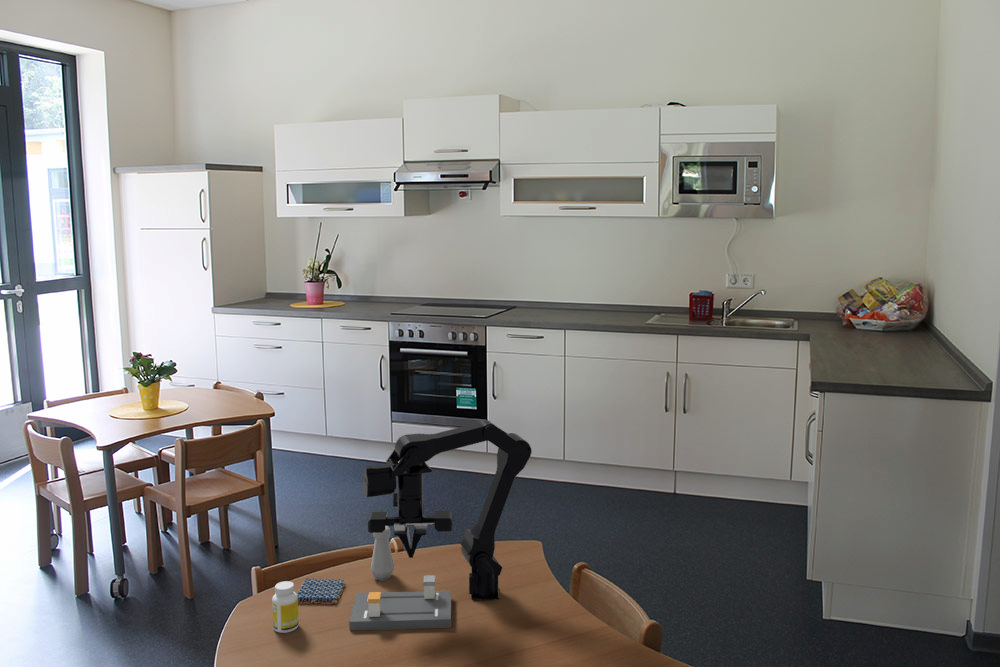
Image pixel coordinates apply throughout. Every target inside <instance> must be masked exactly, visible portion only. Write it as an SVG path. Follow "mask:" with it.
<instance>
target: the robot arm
mask: <svg viewBox="0 0 1000 667" xmlns="http://www.w3.org/2000/svg"><path fill="white" fill-rule="evenodd" d="M487 441H488V442H489V443H491V444H492V445H494V446H495V447H496V448H497V454H496V465H497V466H496V471H495V473H494V476H493V478H492V482H491V485H490V487H489V491H488V493H487V495H486V499H485V500H484V504H483V507H482V509H481V512H480V514H479V517H478V520H477V523H476V525H475V526H474V527H473V528H472V529H469V528H465V530H464V534H463V537H462V540H461V541H460V542H459V545H460V546H461V548H460V550H461V554H462V556H463V557H464V559H465V560H466V561H467V563H468V564H469V566H470V568H471V572H469V573H468V594H469V595H471V596H470V597H471V598H470V599H471V600H472V601H489V600H490V601H491V600H493V601H494V600H500V594H499V576H500V575H501V573H502V571H503V566H502V565H501V564H500V563H499V561H498V560H497V558H496V557H495V556H494V554H495V548H496V536H495V535H496V531H497V528H498V525H499V523H500V519H501V518H502V514H503V511H504V508H505V506H506V503H507V501H508V498H509V495H510V493H511V490H512V487H513V485H514V482H515V480H516V477H517V476H518V475H519V474H520V473H521V472H522V471H523V470H524V469H525V467H526V465H527V463H528V462H529V460H530V458H531V455H532V448H531V445H530V443H528V441H527V440H525V439H524V438H523V437H521V436H520V435H519V434H517V433H513V432H511V433H507V432H506V431H504V430H503V429H501V428H500V427H498V426H496V425H495V424H494V423H492V422H491V421H490V420H487V419H483V420H481V421H479V422H476V423H472V424H468V425H467V424H466V425H464V426H461V427H457V428H451V429H447V430H444V431H440V432H437V433H430V434H429V433H410V434H403V435H402V436H399V437H398V439H397V440H396V442H395V445H394V450H393V451H392V452H391V454H390V455H389V456H388V458H387V459H386V461H385V463H386V464H382V465H381V464H380V465H365V466H364V472H363V477H362V488H363V495H364V497H365V499H366V498H368V499H369V498H375V497H383V496H391V495H392V494H393V495H392V496H393V497H392V507H394V508H397V516H388V511H372V512H371V513H370V514H369V517H368V520H367V532H368V533H370V534H373V533H382V532H383V531H384V530H385V529H386V526H388V527H393V528H394V530H393V536H397V537H398V538H399V539H400V541H401V543H402V544H403V547H404V549H405V551H406V554H407V555H408V557H409V559H411V558H412V559H413V558H414V555H415V552H416V549H417V546H418V544H419V542H420V541H421V538H422V536H426V535H427V532H428V526H434V530H436V531H437V532H438V533H439V532H452V530H453V513H452V511H450V510H435V511H434V515H433V516H432V515H431V516H430V515H429V516H427V515H424V514H425V501H424V474H426V473H427V474H428V473H429V474H430V473H432V472H433V469H432V468H431V467H430V465H428V464H427V463H426V462H428V461H430V460H431V459H433V458H434V457H435V456H437V455H439V454H441V453H445V452H449V451H453V450H457V449H460V448H463V447H469V446H472V445H476V444H479V443H480V444H481V443H482V442H487ZM395 490H397V492H395ZM410 526H413V532H412V533H413V534H412V542H411V538H410V530H409V527H410Z"/></svg>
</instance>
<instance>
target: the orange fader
mask: <svg viewBox="0 0 1000 667" xmlns="http://www.w3.org/2000/svg"><path fill="white" fill-rule="evenodd" d="M381 592H382V591H369V592H368V593H369V596H368V609H369V617H380V612H381Z"/></svg>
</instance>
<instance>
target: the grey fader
mask: <svg viewBox="0 0 1000 667" xmlns="http://www.w3.org/2000/svg"><path fill="white" fill-rule="evenodd" d="M422 586H423V591H424V599H435V591H436V575H428V574H427V575H423V584H422Z"/></svg>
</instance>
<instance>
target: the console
mask: <svg viewBox="0 0 1000 667" xmlns="http://www.w3.org/2000/svg"><path fill="white" fill-rule="evenodd" d="M380 592H381V612H380V617H369V609H368V596H369V592H356V593H355V598H354V601H353V604H352V605H353V606H352V610H351V614H350V618H349V622H348V623H349V626H348V627H349V631H372V630H374V631H376V630H408V629H410V630H413V629H414V630H415V629H450V628H452V590H435V599H424V590H422V591H388V592H387V591H385V592H383V591H380Z"/></svg>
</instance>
